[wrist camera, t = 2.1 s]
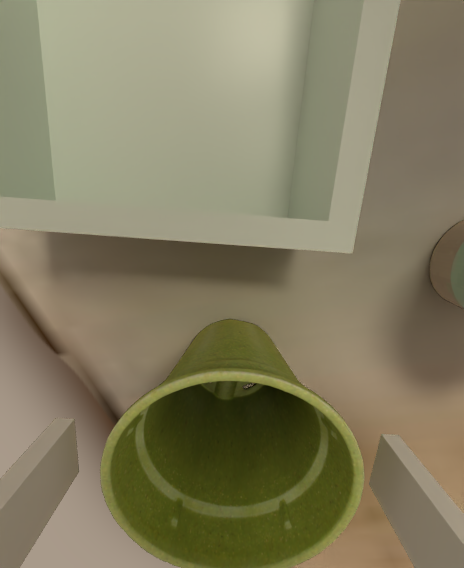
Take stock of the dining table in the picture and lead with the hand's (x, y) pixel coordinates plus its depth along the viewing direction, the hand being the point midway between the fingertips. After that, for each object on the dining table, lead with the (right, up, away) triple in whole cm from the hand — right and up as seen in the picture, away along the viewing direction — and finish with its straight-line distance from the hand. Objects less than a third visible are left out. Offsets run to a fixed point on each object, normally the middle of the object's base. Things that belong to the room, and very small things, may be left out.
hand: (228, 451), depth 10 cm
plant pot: (0, +2, +7) cm, 7 cm away
